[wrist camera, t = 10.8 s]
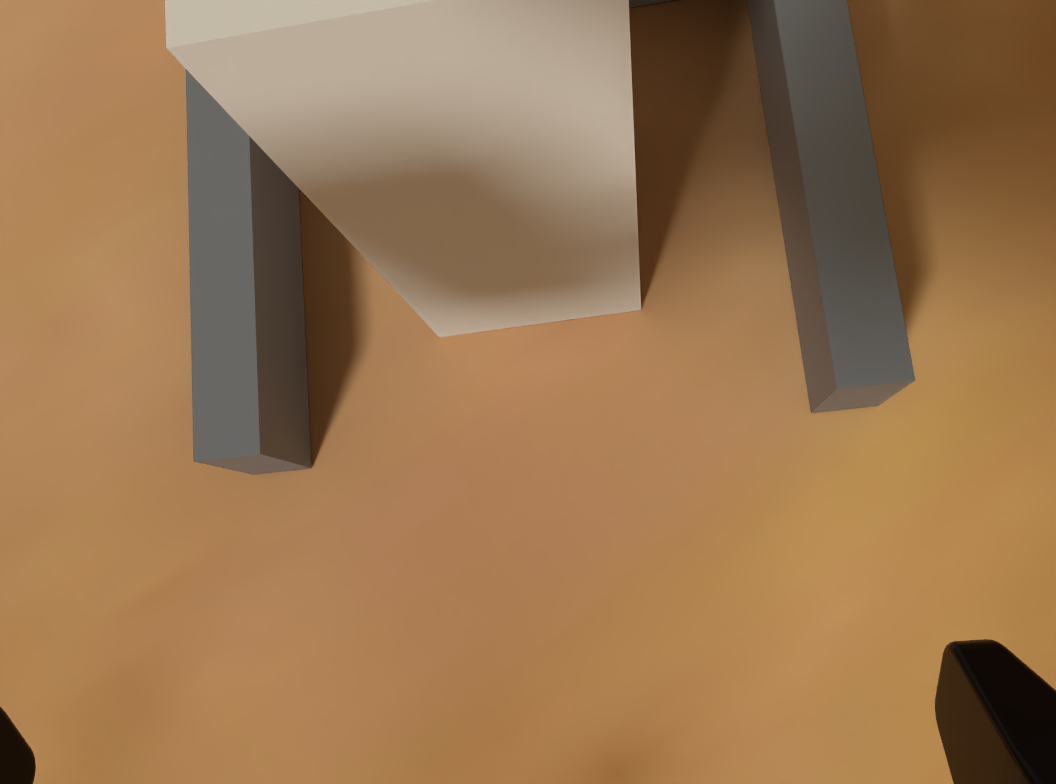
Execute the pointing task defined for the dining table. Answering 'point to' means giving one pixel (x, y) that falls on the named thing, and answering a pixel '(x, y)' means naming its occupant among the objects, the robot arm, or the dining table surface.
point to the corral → (805, 209)
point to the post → (445, 141)
